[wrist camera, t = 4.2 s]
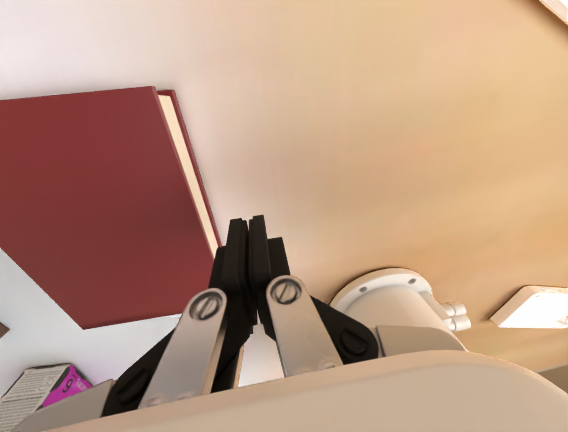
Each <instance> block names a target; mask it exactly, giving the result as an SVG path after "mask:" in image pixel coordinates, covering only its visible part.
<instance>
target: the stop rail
mask: <svg viewBox="0 0 568 432" xmlns="http://www.w3.org/2000/svg"><path fill="white" fill-rule="evenodd" d="M8 331H9V329H7V328H6V327H5V326H4V325H2V324H1V323H0V338H1V337H2V336H3V335H5V334H6V333H7V332H8Z"/></svg>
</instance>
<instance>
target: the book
mask: <svg viewBox="0 0 568 432" xmlns="http://www.w3.org/2000/svg"><path fill="white" fill-rule="evenodd" d="M218 247H222V244H221V241H220V238H219V234H218V231H217V228H216V225H215V221H214V218H213V215H212V212H211V208H210V205H209V202H208V199H207V195H206V192H205V189H204V186H203V182H202V179H201V176H200V173H199V169H198V166H197V163H196V160H195V156H194V153H193V150H192V147H191V143H190V140H189V137H188V134H187V130H186V127H185V124H184V121H183V117H182V114H181V111H180V108H179V104H178V101H177V98H176V95H175V91H174V90H163V91H156V88H155V87H154V86H146V87H136V88H125V89H115V90H104V91H94V92H83V93H73V94H62V95H52V96H41V97H31V98H20V99H10V100H0V248H1V249H2V250H3V251H4V252H5V253H6V254H7V255H8V256H9V257H10V258H11V259H12V260H13V261H14V262H15V263H16V264H17V265H18V266H19V267H20V268H21V269H22V270H23V271H25V272H26V273H27V274H28V275H29V276H30V277H31V278H32V279H33V280H34V281H35V282H36V283H37V284H38V285H39V286H40V287H41V288H42V289H43V290H44V291H45V292H46V293H47V294H48V295H49V296H50V297H51V298H52V299H53V300H54V301H55V302H56V303H57V304H58V305H59V306H60V307H61V308H62V309H63V310H64V311H65V312H66V313H67V314H68V315H69V316H70V317H71V318H72V319H73V320H74V321H75V322H76V323H77V324H78V325H79V326H80V327H81V328H82V329H83V330H85V329H91V328H97V327H103V326H109V325H115V324H121V323H127V322H133V321H139V320H145V319H151V318H157V317H163V316H169V315H175V314H181V313H183V311H184V309H185V307H186V305H187V304H188V302H189V300H190V299H191V298H192V297H193V296H194V295H196V294H197V293H199V292H200V291H203V290H205V289H208V285H209V281H210V276H211V272H212V267H213V263H214V258H215V254H216V250H217V248H218Z"/></svg>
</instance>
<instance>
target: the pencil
mask: <svg viewBox="0 0 568 432" xmlns="http://www.w3.org/2000/svg"><path fill="white" fill-rule="evenodd" d="M539 1H540V2H541V3H542V4H543V5H545V6H546V7H547V8H548V9H549V10H550V11H552V12H553V13H554V14H555V15H556V16H557V17H559V18H560V19H561V20H562V21H563V22H564V23H566V24H567V25H568V0H539Z"/></svg>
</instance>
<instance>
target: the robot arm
mask: <svg viewBox="0 0 568 432" xmlns="http://www.w3.org/2000/svg"><path fill="white" fill-rule="evenodd" d="M257 311H258V315H259V318H260V322H261V324H263V326H264V330H265V334H266V335H268V336H269V337H270V338H272V339H273V340H274V341H276V346H277V350H278V354H279V358H280V362H281V366H282V369H283V373H284V377H285V378H281V379H276V380H272V381H267V382H262V383H258V384H253V385H248V386H244V387H239V388H238V383H239V377H240V371H241V365H242V359H243V352H244V343H245V342H246V341H247V339H248V338H249V337H250V334H253V325H257ZM465 314H466V308H465V306H464V305H463V304H462V303H461V302H459V301H455V302H449V303H446V304H442V305H441V304H440V303H437V302H436V301H435V299H434V298H433V297H432V289H431V287H430V285H429V283H428V282H427V281H426V280H425V279H424V278H423V277H422V276H421V275H419V274H418V273H417V272H414V271H412V270H409V269H403V268H389V269H383V270H378V271H375V272H371V273H368V274H366V275H364V276H361V277H359V278H357V279H356V280H354V281H352V282H351V283H349V284H348V285H347V286H345V287H344V288H343V289H342V290H341V291H340V292H339V293H338V294H337V295H336V296H335V297H334V299H333V301H332V302H331V304H330V306H329V305H327V304H325V303H323V302H321V301H319V300H318V299H316V298H314V297H312V296H310V295H309V294H308V291H307V289H306V287H305V285H304V284H303V282H302V281H301V280H300V279H298V278H297V277H294V276H291V275H290V270H289V266H288V261H287V257H286V253H285V248H284V244H283V240H282V237H278V238H272V239H267V233H266V227H265V221H264V215H258V216H253V219H250V220H249V230H248V226H247V221H246V220H243V221H242V218H238V219H231V220H230V225H229V231H228V237H227V243H226V246H222V247H218V248H217V250H216V254H215V258H214V263H213V267H212V272H211V276H210V281H209V285H208V289H205V290H203V291H200V292H199V293H197V294H196V295H194V296H193V297H192V298H191V299H190V300H189V302H188V304H187V305H186V307H185V309H184V311H183V313H182V315H181V318H180V320H179V322H178V324H177V326H176V328H174V329H173V330H172V331H171V332H170V333H169V334H168V335H166V336H165V337H164V338H163V339H162V340H161V341H160V342H158V343H157V344H156V345H155V346H154V347H153V348H151V349H150V350H149V351H148V352H147V353H146V354H145V355H143V356H142V357H141V358H140V359H139V360H138V361H136V362H135V363H134V364H133V365H132V366H131V367H130V368H128V369H127V370H126V371H125V372H124V373H123V374H122V375H121V376H120V377H119V378H118V380H115V381H114V380H113V379H109V380H107V381H105V382H102V383H100V384H98V385H95V386H93V387H91V388H88V389H86V390H84V391H81V392H79V393H76V394H74V395H72V396H69V397H67V398H65V399H62V400H60V401H58V402H55V403H53V404H51V405H48V406H46V407H43V408H41V409H39V410H37V411H35V412H34V413H32V414H30V415H28V416H27V417H26V418H24V419H23V420H22V421H21V422H20V423H18V424H17V425H16V426H15V427H14V428H13V429H12V430H11V431H10V432H568V394H567V393H565V392H564V391H563V390H561V389H560V388H558V387H557V386H556V385H554V384H552V383H551V382H550V381H548V380H547V379H545V378H543V377H542V376H540V375H538V374H537V373H535V372H533V371H530V370H528V369H526V368H524V367H522V366H519V365H517V364H514V363H511V362H508V361H505V360H502V359H499V358H496V357H492V356H488V355H484V354H480V353H473V352H469V351H468V350H467V349H466V348H465V347H464V346H463V344H462V343H461V342H460V341H459V340H458V339H457V337H456V336H455V335H454V334H453V333H452V332H451V331H459V330H464V329H469V328H470V321H469V319H468V317H467V316H466V315H465Z"/></svg>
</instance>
